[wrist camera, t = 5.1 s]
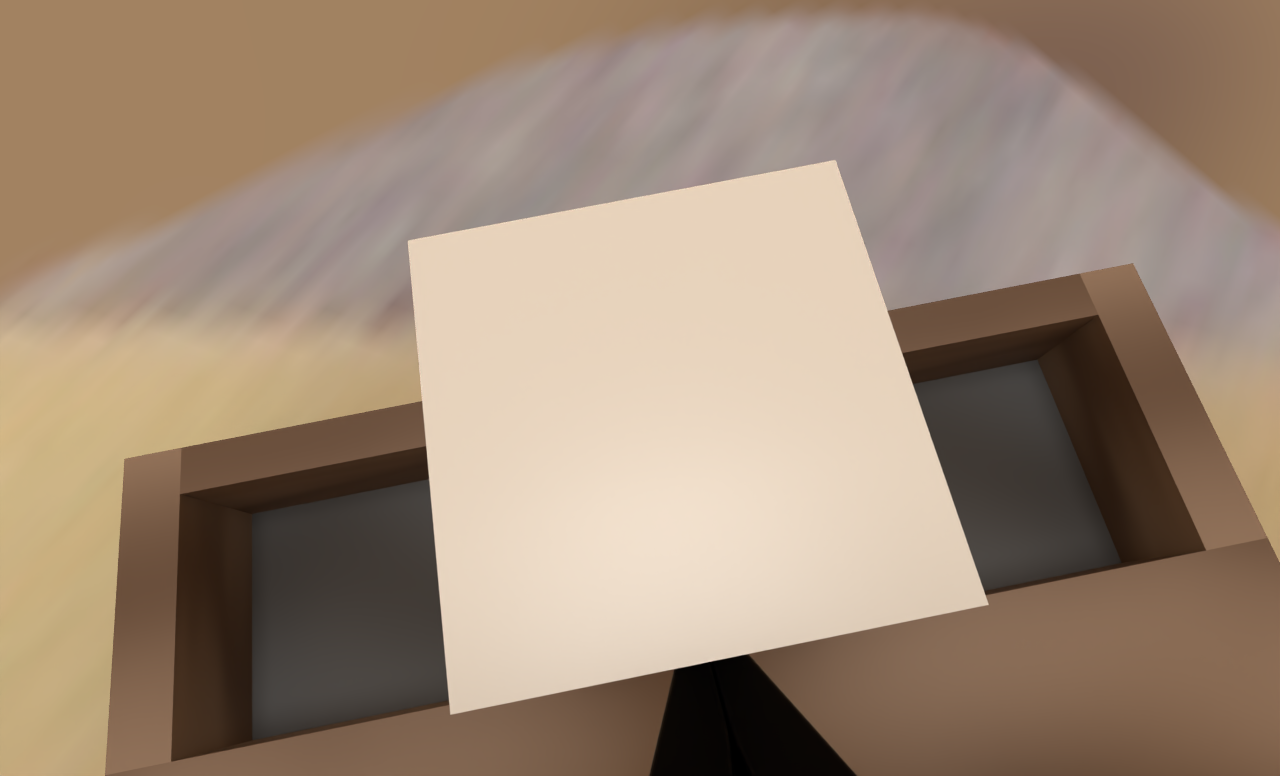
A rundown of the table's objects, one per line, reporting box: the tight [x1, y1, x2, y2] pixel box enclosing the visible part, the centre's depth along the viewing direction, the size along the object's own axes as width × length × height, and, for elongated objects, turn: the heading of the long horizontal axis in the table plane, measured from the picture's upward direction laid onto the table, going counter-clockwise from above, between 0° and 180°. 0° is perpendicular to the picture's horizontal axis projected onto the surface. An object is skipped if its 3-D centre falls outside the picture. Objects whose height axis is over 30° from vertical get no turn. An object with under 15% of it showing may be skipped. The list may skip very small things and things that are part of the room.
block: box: [408, 160, 989, 715], centre depth 10 cm, size 5×5×7 cm
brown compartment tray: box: [105, 263, 1280, 776], centre depth 14 cm, size 16×22×3 cm
